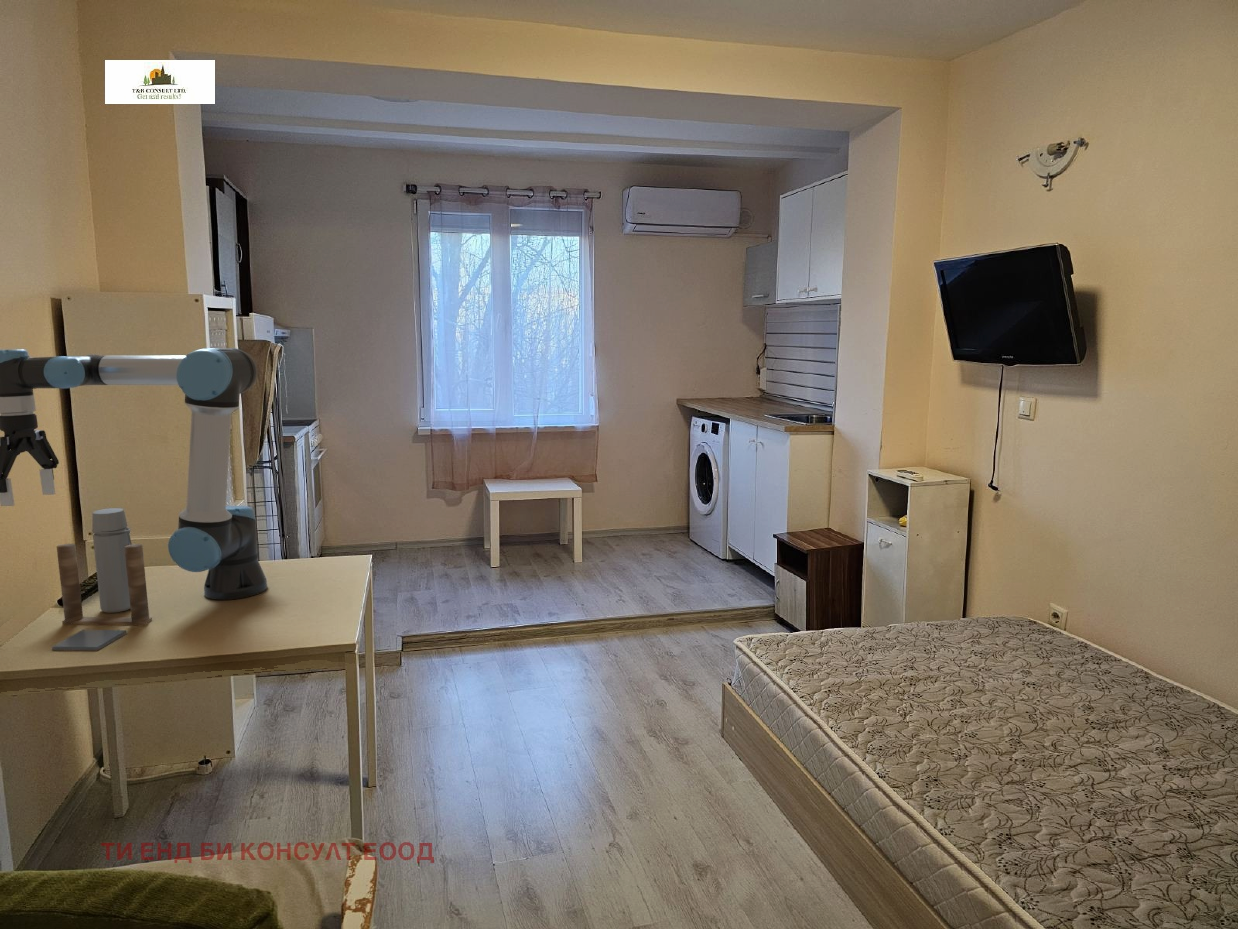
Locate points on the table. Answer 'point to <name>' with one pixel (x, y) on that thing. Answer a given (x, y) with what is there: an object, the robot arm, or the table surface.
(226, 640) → the table surface
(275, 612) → the table surface
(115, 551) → the water bottle
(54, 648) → the pad
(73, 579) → the gate
